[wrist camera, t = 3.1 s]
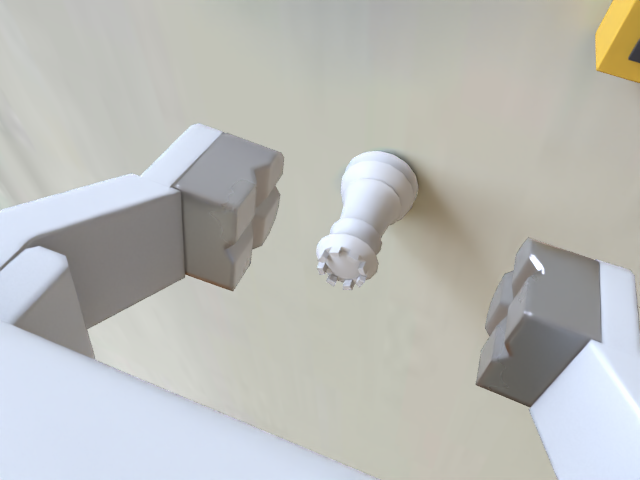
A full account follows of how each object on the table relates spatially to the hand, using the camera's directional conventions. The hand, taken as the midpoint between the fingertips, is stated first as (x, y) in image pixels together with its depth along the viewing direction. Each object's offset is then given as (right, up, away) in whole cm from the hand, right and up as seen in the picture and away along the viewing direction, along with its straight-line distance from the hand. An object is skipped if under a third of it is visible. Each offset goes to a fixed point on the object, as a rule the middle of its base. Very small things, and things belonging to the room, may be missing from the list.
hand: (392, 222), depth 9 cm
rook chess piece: (+3, +3, +24) cm, 24 cm away
